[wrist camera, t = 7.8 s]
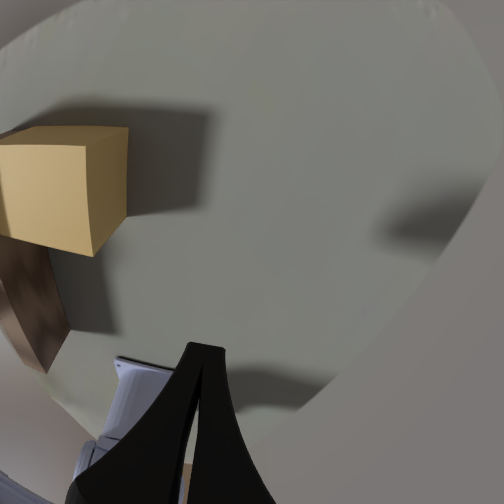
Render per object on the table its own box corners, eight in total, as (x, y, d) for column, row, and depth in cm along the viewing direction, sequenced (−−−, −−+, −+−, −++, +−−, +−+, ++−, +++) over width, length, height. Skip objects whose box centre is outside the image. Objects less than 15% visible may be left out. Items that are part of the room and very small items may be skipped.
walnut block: (70, 330, 25) (46, 374, 20) (49, 322, 25) (24, 363, 20) (33, 129, 14) (-28, 156, 9) (8, 130, 14) (-49, 157, 9)
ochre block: (127, 215, 18) (93, 257, 14) (40, 202, 18) (0, 234, 13) (130, 126, 15) (85, 146, 11) (35, 125, 14) (-14, 145, 10)
